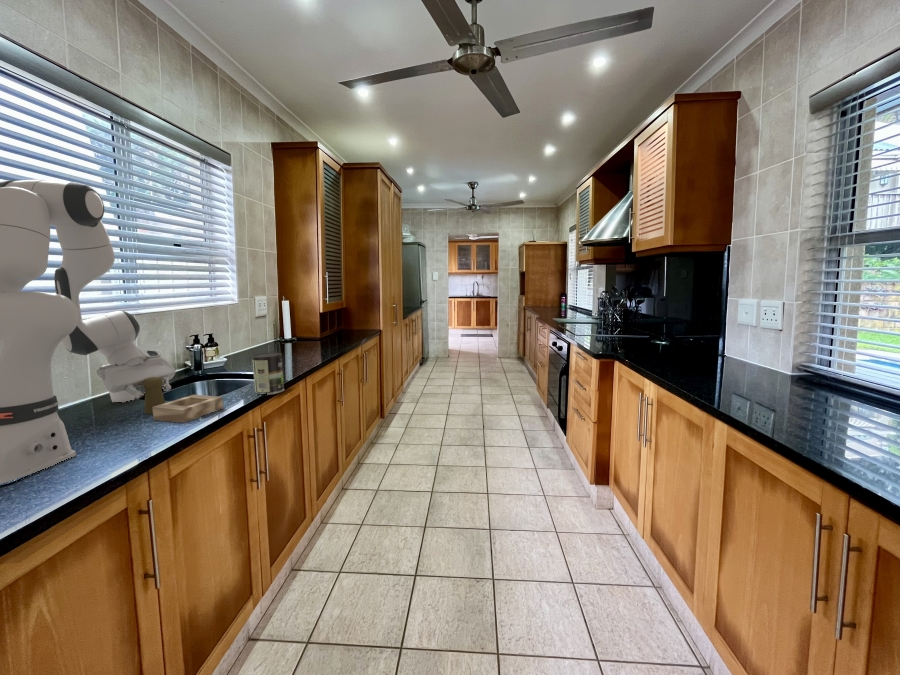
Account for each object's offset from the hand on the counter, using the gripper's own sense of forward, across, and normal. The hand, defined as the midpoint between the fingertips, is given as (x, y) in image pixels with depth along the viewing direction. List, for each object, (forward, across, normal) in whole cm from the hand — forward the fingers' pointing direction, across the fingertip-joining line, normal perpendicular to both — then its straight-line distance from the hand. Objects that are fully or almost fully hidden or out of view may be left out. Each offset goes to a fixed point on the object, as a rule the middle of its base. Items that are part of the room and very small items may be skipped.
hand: (155, 393), depth 130 cm
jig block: (+14, 0, -6) cm, 15 cm away
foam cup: (-13, +6, +22) cm, 26 cm away
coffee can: (+18, +29, -9) cm, 35 cm away
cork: (+4, 0, +5) cm, 6 cm away
